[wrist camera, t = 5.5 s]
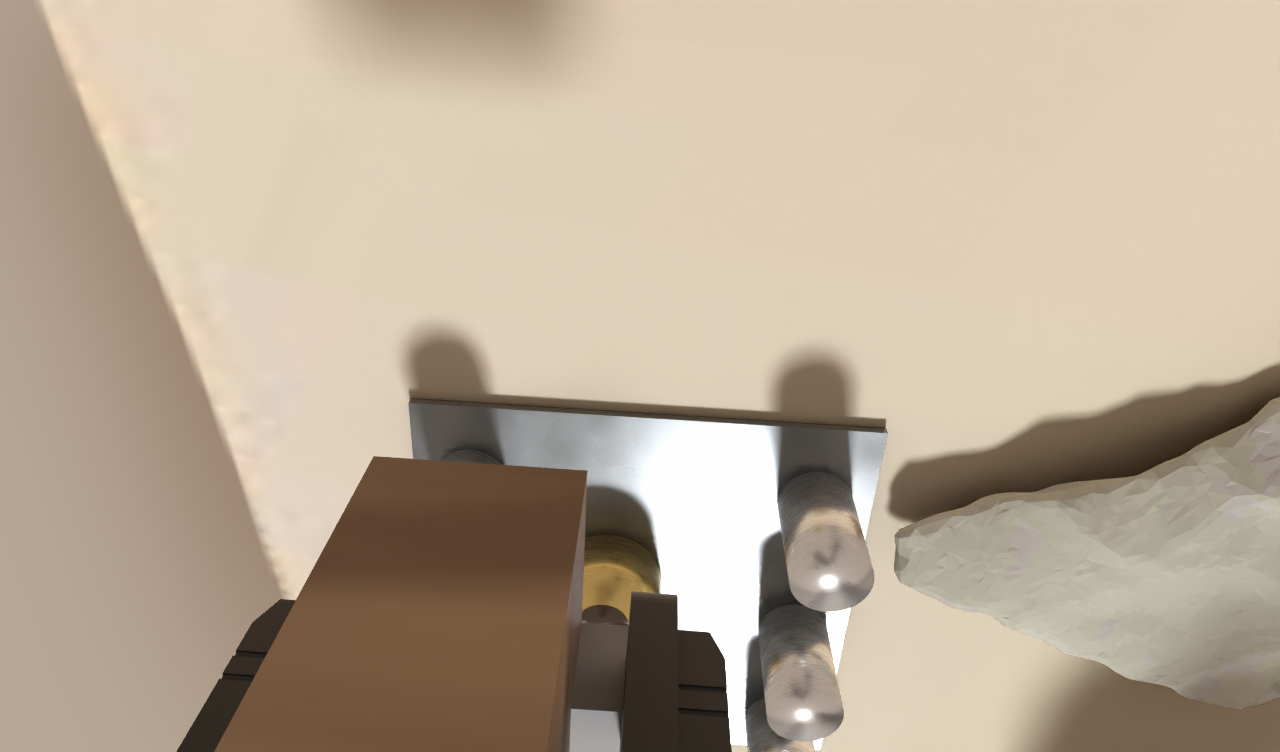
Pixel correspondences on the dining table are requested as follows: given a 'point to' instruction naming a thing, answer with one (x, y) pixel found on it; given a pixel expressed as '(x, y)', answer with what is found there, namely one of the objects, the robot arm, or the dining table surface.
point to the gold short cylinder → (615, 578)
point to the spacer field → (714, 533)
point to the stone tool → (1131, 566)
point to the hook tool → (443, 624)
